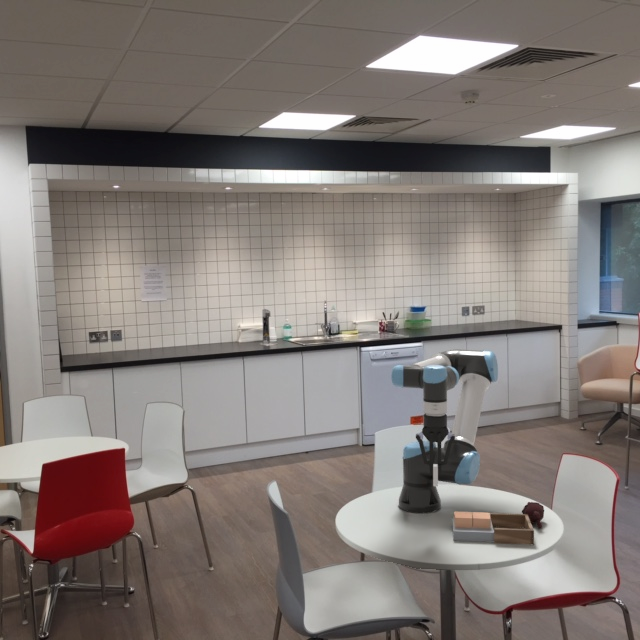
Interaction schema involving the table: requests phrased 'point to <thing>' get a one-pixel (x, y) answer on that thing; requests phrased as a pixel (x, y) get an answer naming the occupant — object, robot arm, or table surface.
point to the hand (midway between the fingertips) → (435, 484)
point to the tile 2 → (481, 520)
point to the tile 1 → (463, 519)
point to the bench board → (473, 533)
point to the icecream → (534, 513)
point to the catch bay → (512, 535)
